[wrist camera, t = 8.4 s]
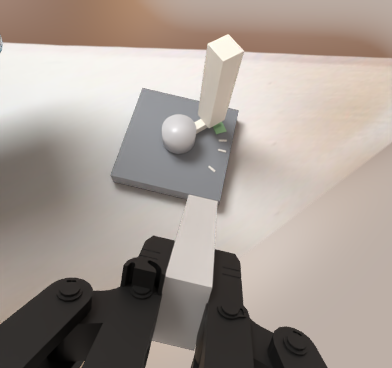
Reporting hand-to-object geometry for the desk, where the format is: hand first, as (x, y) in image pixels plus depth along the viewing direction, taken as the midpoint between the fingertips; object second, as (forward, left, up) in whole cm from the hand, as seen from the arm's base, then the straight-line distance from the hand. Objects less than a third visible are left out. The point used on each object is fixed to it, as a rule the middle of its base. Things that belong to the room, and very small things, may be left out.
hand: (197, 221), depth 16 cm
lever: (-3, +16, -18) cm, 24 cm away
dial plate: (-4, +15, -20) cm, 25 cm away
